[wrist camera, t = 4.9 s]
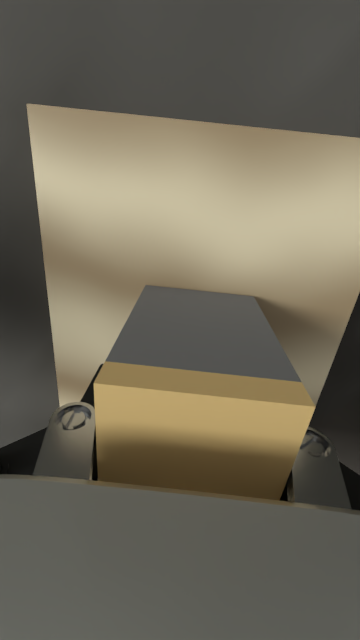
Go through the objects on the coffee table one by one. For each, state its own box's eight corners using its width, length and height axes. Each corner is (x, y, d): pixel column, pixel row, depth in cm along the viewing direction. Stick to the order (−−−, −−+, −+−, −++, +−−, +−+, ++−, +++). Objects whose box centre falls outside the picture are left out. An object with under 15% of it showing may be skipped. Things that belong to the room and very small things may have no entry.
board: (49, 115, 11) (26, 103, 9) (386, 150, 11) (416, 144, 9) (81, 505, 21) (73, 529, 19) (255, 524, 21) (260, 549, 19)
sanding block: (145, 284, 12) (93, 382, 6) (253, 296, 12) (315, 406, 6) (139, 413, 14) (102, 566, 9) (226, 422, 14) (247, 582, 9)
